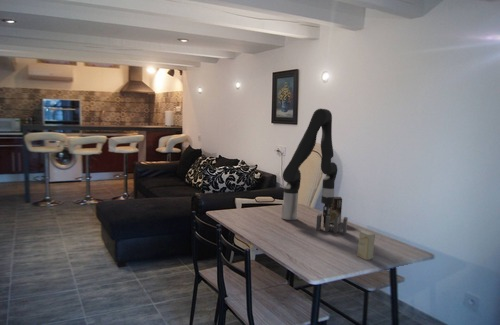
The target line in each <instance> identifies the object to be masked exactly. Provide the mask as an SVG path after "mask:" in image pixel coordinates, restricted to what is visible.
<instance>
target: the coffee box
mask: <svg viewBox="0 0 500 325" xmlns="http://www.w3.org/2000/svg"><path fill="white" fill-rule="evenodd" d="M342 209H343V198H342V197H341V196H334V203H333V204H331V213H330V224H334V219H335V216H339V223H338V225H339V224H342V223H341V222H342Z"/></svg>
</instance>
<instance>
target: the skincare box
mask: <svg viewBox="0 0 500 325" xmlns="http://www.w3.org/2000/svg"><path fill="white" fill-rule="evenodd" d="M358 235H359V236H358V246H357V257H360V258H361V259H363V260H366V261H367V260H368V261H369V260H373V257H374V251H375V250H374V249H375V241H376V233H374V232H371V231H368V230H360V231H359V234H358Z"/></svg>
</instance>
